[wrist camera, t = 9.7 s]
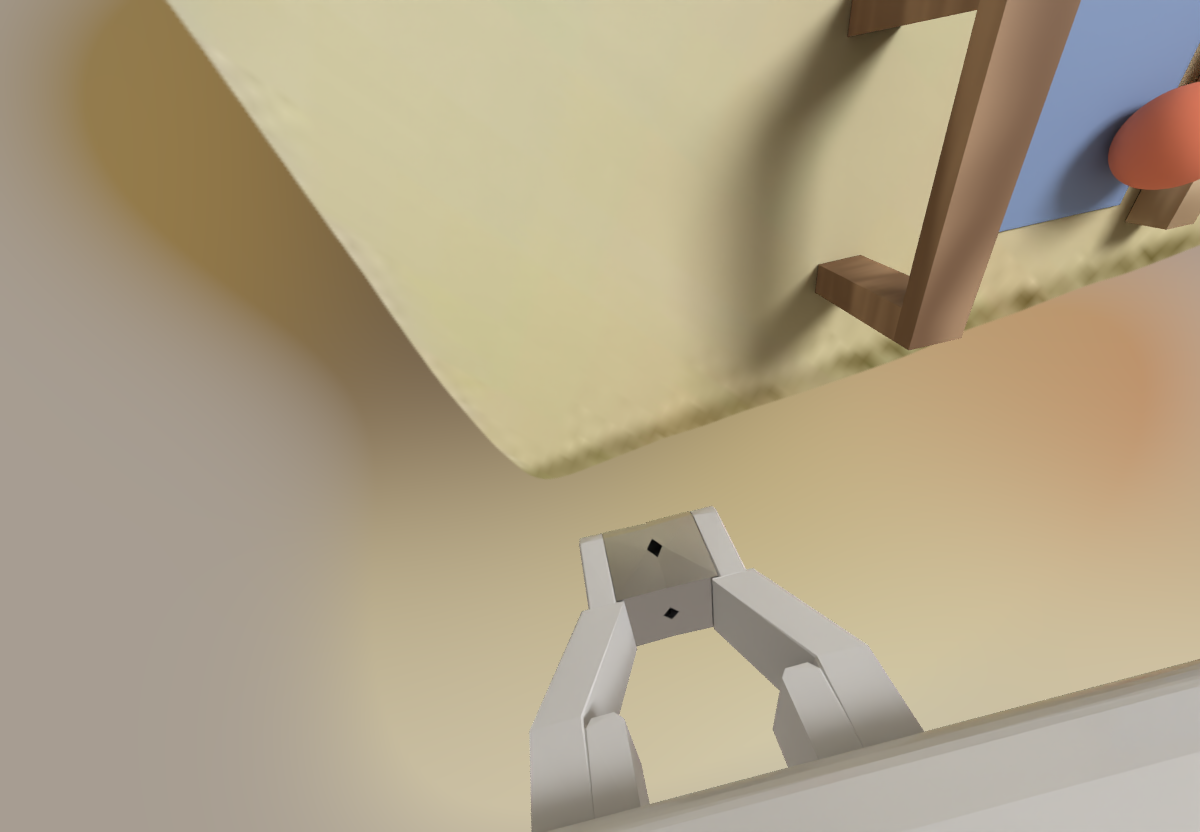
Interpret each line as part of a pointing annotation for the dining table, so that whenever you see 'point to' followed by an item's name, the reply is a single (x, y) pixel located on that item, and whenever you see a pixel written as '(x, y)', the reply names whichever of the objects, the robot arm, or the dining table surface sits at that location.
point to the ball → (1160, 142)
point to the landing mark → (1100, 102)
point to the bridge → (959, 165)
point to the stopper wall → (1167, 206)
